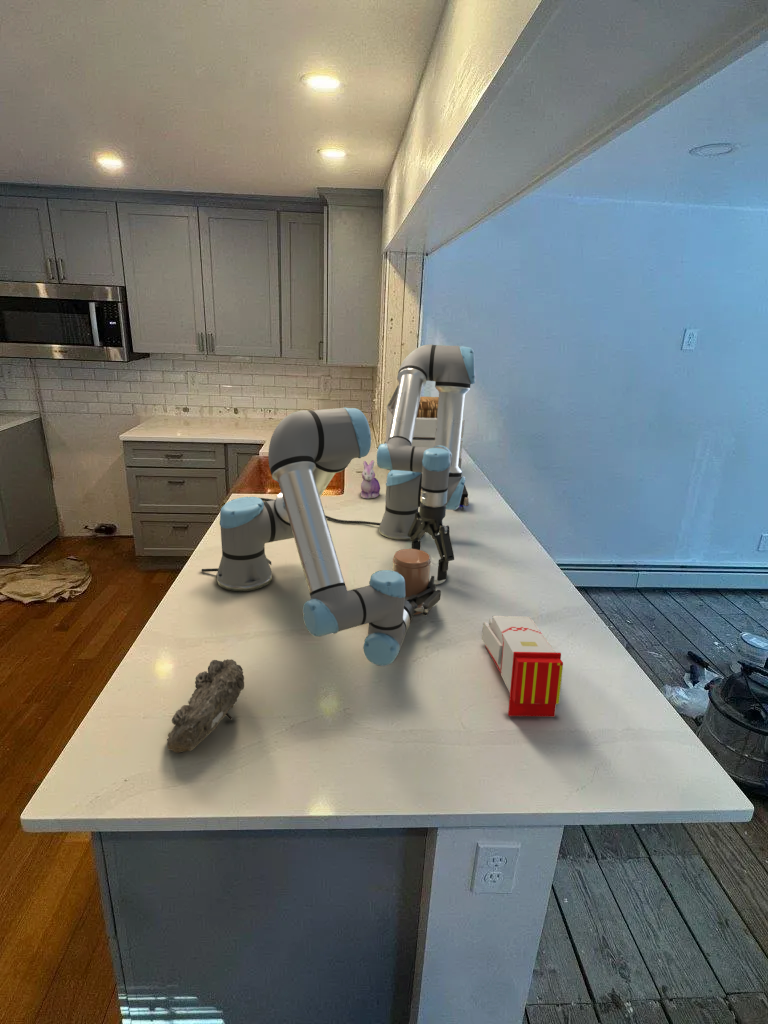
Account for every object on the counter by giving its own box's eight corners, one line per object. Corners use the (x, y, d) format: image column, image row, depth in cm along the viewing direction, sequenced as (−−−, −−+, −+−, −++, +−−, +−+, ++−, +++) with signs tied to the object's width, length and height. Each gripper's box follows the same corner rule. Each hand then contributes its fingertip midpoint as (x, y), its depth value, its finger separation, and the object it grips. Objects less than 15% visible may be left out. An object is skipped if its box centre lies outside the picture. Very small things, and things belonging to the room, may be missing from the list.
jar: (383, 601, 154) (386, 551, 149) (414, 593, 158) (417, 545, 153) (402, 618, 146) (405, 566, 141) (434, 609, 150) (438, 559, 145)
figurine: (365, 500, 232) (366, 464, 227) (354, 493, 241) (355, 458, 236) (385, 497, 237) (387, 463, 231) (374, 490, 245) (375, 457, 240)
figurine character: (468, 514, 225) (463, 498, 239) (470, 497, 222) (465, 482, 235) (451, 514, 225) (447, 498, 238) (453, 497, 222) (449, 481, 235)
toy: (528, 601, 136) (572, 659, 107) (523, 653, 139) (565, 722, 110) (478, 600, 136) (508, 657, 107) (474, 652, 139) (503, 722, 109)
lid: (401, 575, 169) (401, 571, 168) (424, 565, 176) (425, 560, 176) (430, 588, 162) (430, 583, 161) (453, 577, 169) (454, 572, 169)
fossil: (192, 660, 117) (244, 628, 112) (224, 691, 120) (276, 661, 115) (142, 746, 98) (202, 712, 93) (182, 779, 101) (242, 748, 96)
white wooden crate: (382, 463, 289) (386, 382, 275) (445, 464, 293) (451, 384, 279) (390, 482, 257) (394, 392, 243) (460, 483, 261) (468, 394, 247)
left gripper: (348, 624, 137) (372, 583, 157) (441, 639, 132) (453, 596, 153) (349, 596, 134) (373, 559, 155) (443, 611, 130) (455, 571, 150)
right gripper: (398, 492, 169) (395, 556, 177) (449, 519, 150) (442, 591, 157) (419, 488, 173) (415, 551, 181) (471, 515, 153) (464, 585, 161)
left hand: (413, 577), depth 154 cm, fingers closed on jar, 10 cm apart
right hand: (428, 570), depth 169 cm, fingers open, 13 cm apart
